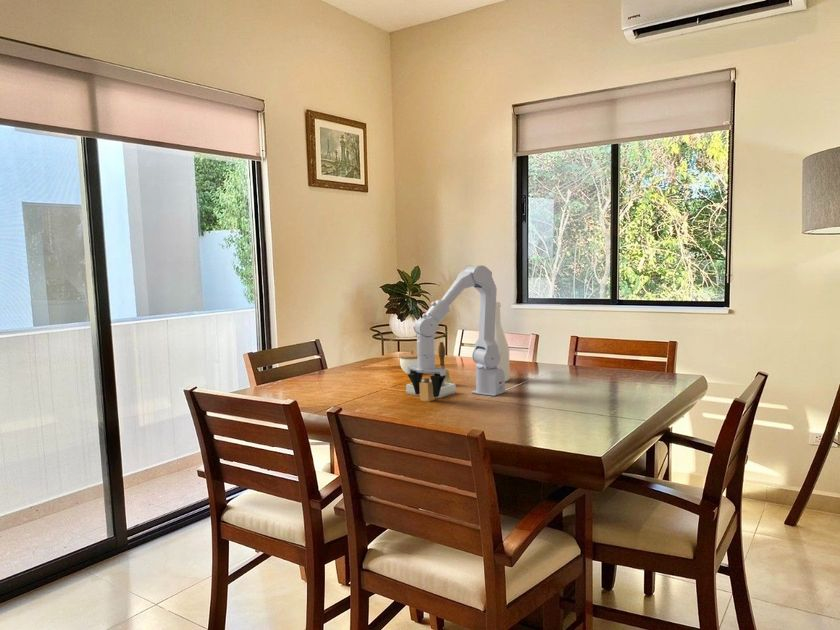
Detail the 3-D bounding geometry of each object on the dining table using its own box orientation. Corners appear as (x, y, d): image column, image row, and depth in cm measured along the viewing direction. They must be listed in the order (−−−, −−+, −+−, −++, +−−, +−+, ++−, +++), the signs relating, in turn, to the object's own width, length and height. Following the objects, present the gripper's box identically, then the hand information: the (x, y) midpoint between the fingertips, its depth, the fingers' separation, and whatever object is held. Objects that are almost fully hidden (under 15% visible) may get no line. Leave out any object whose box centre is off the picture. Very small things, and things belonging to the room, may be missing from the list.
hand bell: (427, 386, 225) (426, 343, 223) (437, 382, 232) (436, 340, 231) (448, 387, 221) (447, 344, 219) (457, 383, 228) (456, 341, 227)
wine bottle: (509, 377, 236) (507, 300, 233) (510, 382, 226) (508, 302, 224) (484, 378, 237) (482, 300, 234) (484, 382, 227) (482, 302, 225)
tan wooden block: (434, 399, 203) (434, 378, 202) (428, 401, 200) (427, 380, 200) (426, 398, 205) (425, 377, 205) (419, 400, 202) (419, 379, 202)
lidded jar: (395, 372, 255) (394, 350, 254) (418, 369, 259) (418, 347, 258) (406, 376, 245) (405, 353, 244) (430, 373, 249) (429, 350, 249)
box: (455, 392, 212) (455, 378, 212) (438, 398, 204) (438, 383, 204) (423, 388, 221) (423, 374, 220) (406, 393, 213) (405, 379, 212)
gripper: (401, 354, 203) (402, 394, 204) (436, 357, 194) (437, 400, 195) (414, 351, 208) (415, 390, 209) (449, 354, 199) (450, 395, 200)
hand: (427, 395), depth 203 cm, fingers open, 7 cm apart
